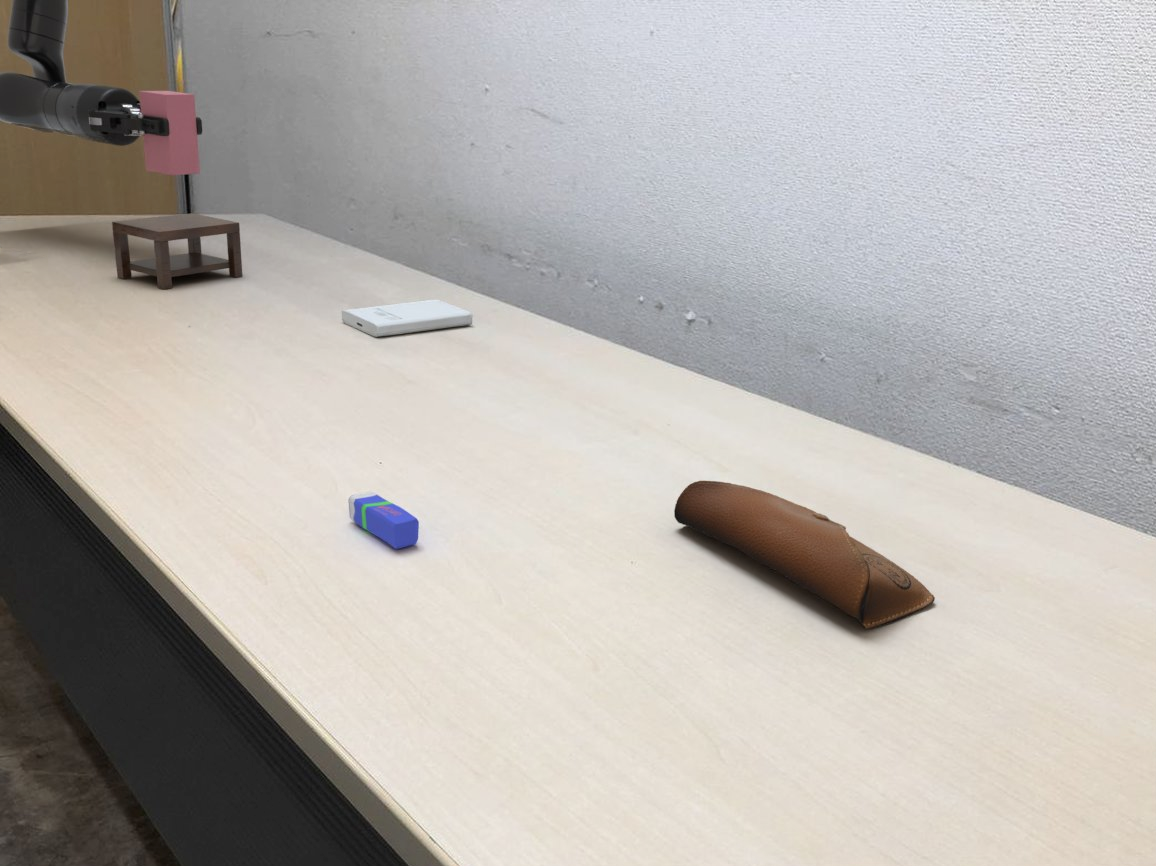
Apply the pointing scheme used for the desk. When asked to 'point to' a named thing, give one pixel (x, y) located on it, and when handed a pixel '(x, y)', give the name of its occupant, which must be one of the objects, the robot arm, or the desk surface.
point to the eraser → (384, 519)
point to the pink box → (171, 133)
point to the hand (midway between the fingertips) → (183, 126)
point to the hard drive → (406, 317)
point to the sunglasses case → (804, 550)
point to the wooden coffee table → (175, 230)
